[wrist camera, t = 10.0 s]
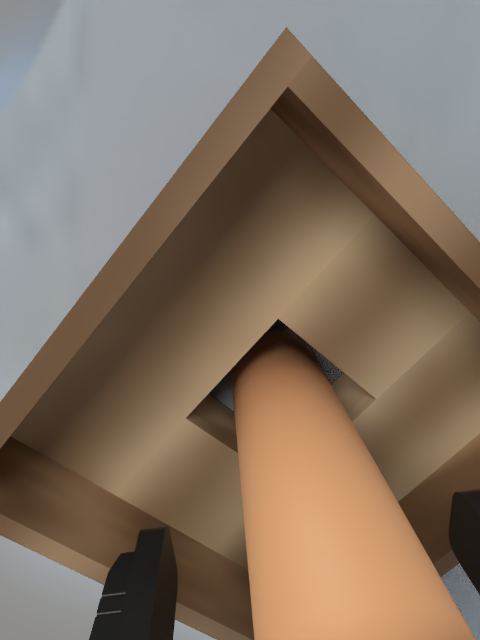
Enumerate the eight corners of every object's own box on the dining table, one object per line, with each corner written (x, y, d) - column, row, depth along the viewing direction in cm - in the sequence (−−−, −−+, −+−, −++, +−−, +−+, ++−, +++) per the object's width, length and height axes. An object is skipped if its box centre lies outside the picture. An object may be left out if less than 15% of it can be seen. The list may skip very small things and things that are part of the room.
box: (513, 349, 19) (643, 424, 13) (280, 554, 22) (302, 681, 17) (257, 86, 14) (286, 27, 9) (16, 397, 18) (-74, 499, 12)
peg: (333, 365, 18) (523, 662, 7) (276, 421, 19) (364, 766, 8) (271, 313, 17) (379, 568, 6) (213, 376, 18) (212, 700, 7)
